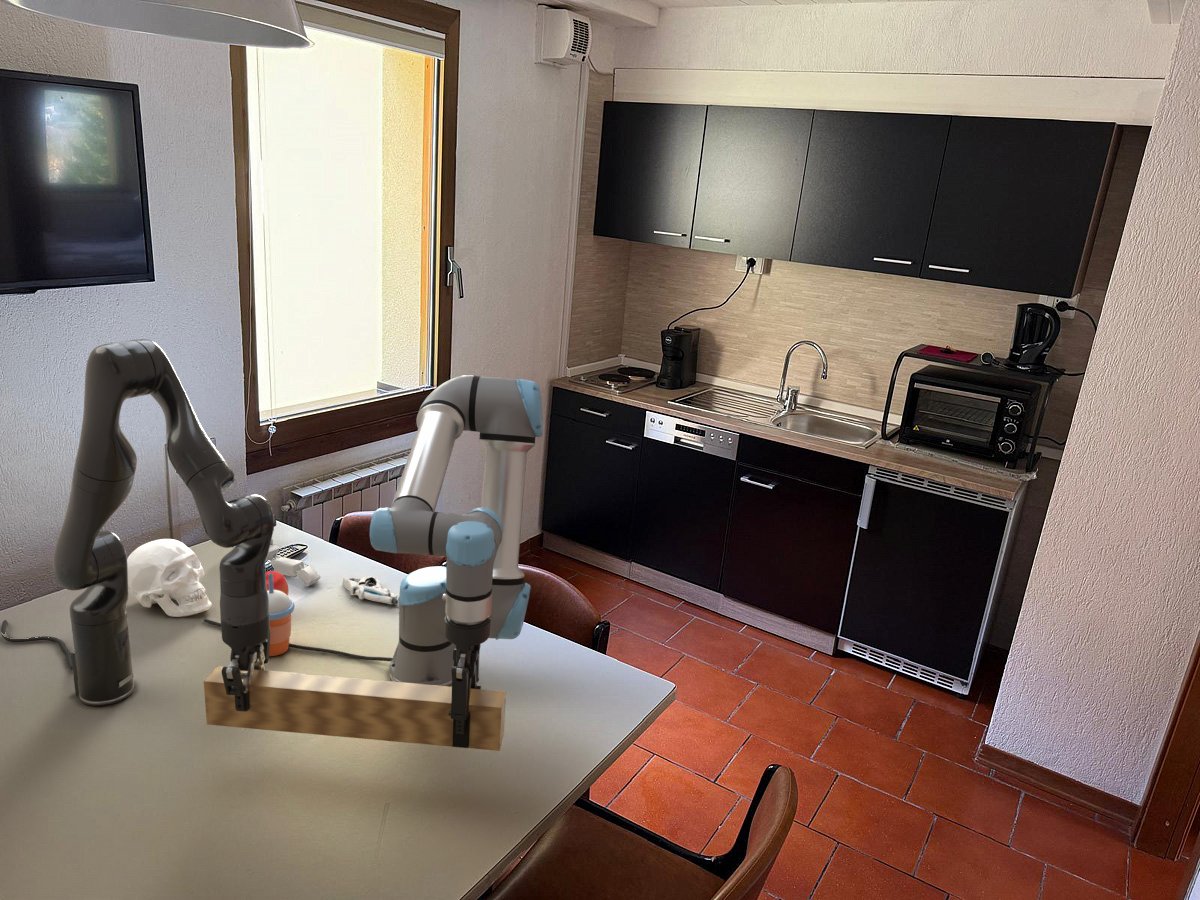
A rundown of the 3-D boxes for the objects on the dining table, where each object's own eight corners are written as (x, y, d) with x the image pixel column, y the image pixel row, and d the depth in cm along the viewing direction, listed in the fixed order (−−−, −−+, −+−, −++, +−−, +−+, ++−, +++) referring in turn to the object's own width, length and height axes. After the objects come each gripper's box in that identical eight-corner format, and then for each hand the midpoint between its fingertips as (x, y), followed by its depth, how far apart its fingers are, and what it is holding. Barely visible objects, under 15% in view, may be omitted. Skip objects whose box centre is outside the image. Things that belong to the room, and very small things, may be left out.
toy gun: (415, 589, 214) (386, 601, 205) (414, 598, 214) (386, 611, 206) (361, 569, 222) (332, 580, 214) (361, 578, 223) (331, 589, 214)
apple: (273, 600, 207) (272, 562, 204) (297, 613, 202) (296, 575, 199) (237, 614, 200) (234, 575, 197) (261, 628, 194) (259, 588, 191)
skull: (190, 626, 193) (187, 561, 188) (111, 606, 198) (107, 543, 194) (231, 603, 205) (229, 541, 201) (156, 585, 211) (152, 525, 206)
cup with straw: (281, 663, 182) (278, 586, 176) (242, 655, 183) (238, 579, 178) (303, 642, 190) (301, 568, 185) (266, 635, 192) (263, 562, 186)
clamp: (253, 565, 223) (254, 542, 221) (265, 560, 226) (266, 537, 224) (309, 593, 215) (310, 569, 213) (320, 588, 218) (321, 564, 216)
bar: (504, 733, 150) (506, 691, 147) (499, 751, 145) (501, 707, 143) (220, 708, 151) (217, 665, 149) (206, 724, 146) (203, 681, 144)
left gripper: (241, 591, 149) (246, 676, 154) (201, 631, 136) (208, 723, 141) (284, 594, 149) (287, 680, 154) (248, 635, 135) (253, 727, 140)
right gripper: (456, 588, 149) (452, 704, 156) (433, 640, 132) (430, 767, 139) (499, 592, 149) (493, 708, 156) (481, 644, 132) (476, 771, 139)
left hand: (249, 700), depth 147 cm, fingers closed on bar, 5 cm apart
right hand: (463, 735), depth 147 cm, fingers closed on bar, 5 cm apart
